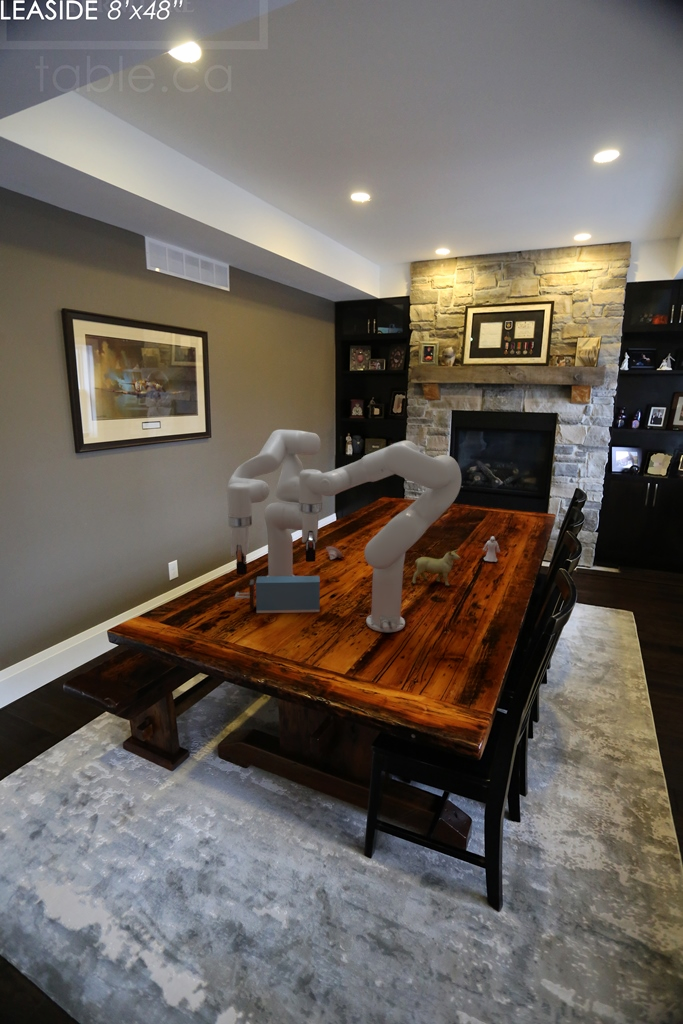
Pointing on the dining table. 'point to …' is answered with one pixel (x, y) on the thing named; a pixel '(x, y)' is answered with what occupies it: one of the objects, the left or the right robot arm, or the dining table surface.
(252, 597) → the drawer
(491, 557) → the figurine
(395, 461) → the right robot arm
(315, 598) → the blue slab
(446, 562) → the toy
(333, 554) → the white lid
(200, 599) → the dining table surface
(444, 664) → the dining table surface
